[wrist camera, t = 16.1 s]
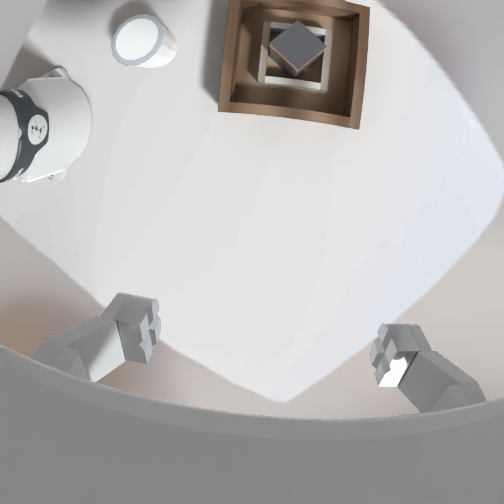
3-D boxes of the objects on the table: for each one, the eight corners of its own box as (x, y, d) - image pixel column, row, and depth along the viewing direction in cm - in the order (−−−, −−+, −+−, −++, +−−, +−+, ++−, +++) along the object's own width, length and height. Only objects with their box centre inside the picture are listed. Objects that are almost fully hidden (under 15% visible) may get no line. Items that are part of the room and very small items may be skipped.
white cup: (128, 67, 33) (102, 61, 27) (145, 23, 30) (123, 11, 24) (170, 76, 34) (150, 70, 27) (189, 32, 31) (173, 17, 24)
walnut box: (224, 112, 35) (217, 111, 31) (236, 2, 28) (231, -12, 24) (348, 127, 35) (359, 129, 31) (359, 18, 28) (369, 7, 24)
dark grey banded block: (293, 79, 32) (298, 70, 25) (270, 57, 31) (269, 43, 24) (316, 60, 31) (327, 46, 24) (293, 38, 30) (298, 19, 23)
